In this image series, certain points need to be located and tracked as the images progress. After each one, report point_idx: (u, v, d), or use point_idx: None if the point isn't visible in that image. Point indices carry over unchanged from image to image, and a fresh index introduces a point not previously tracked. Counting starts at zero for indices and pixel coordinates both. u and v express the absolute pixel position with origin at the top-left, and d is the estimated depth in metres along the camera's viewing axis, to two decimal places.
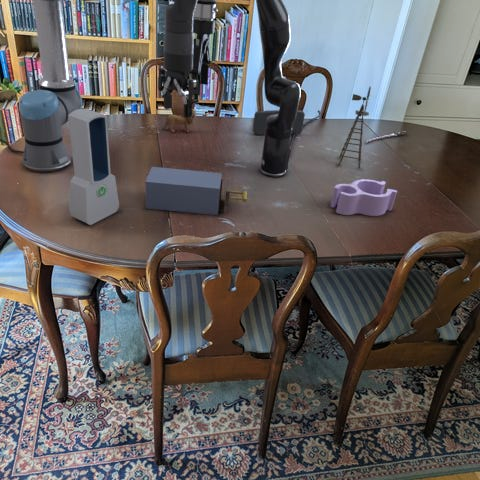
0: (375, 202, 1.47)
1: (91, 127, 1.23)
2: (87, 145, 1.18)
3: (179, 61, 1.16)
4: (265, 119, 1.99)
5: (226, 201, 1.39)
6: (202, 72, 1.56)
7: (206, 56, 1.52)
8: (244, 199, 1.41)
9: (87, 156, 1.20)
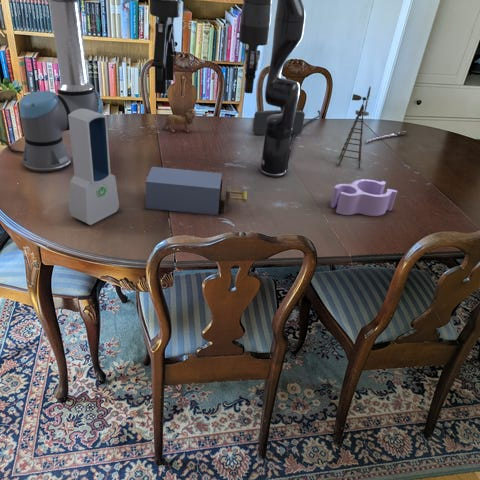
0: (375, 202, 1.47)
1: (91, 127, 1.23)
2: (87, 145, 1.18)
3: (245, 32, 1.15)
4: (265, 119, 1.99)
5: (226, 201, 1.39)
6: (166, 65, 1.29)
7: (171, 45, 1.25)
8: (244, 199, 1.41)
9: (87, 156, 1.20)
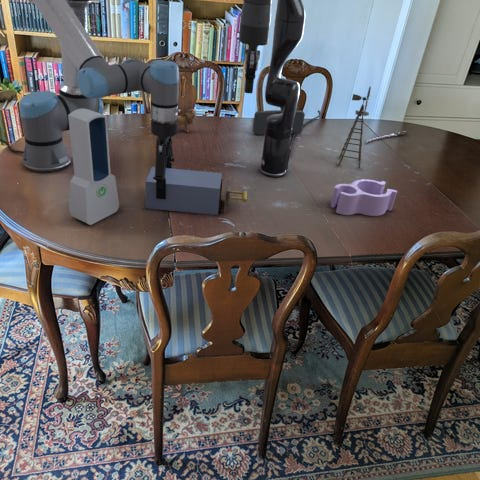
0: (375, 202, 1.47)
1: (91, 127, 1.23)
2: (87, 145, 1.18)
3: (245, 32, 1.15)
4: (265, 119, 1.99)
5: (226, 201, 1.39)
6: None
7: (169, 154, 1.41)
8: (244, 199, 1.41)
9: (87, 156, 1.20)
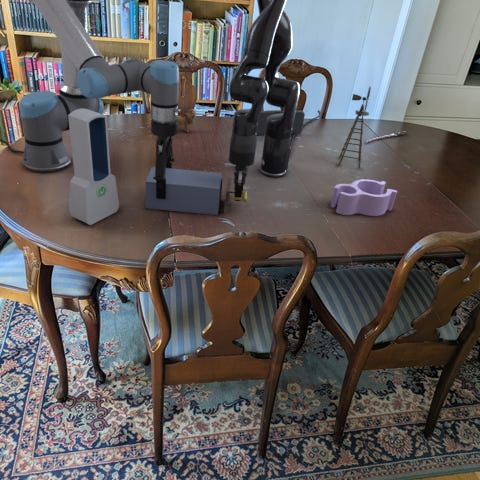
0: (375, 202, 1.47)
1: (91, 127, 1.23)
2: (87, 145, 1.18)
3: (234, 156, 1.33)
4: (265, 119, 1.99)
5: (226, 201, 1.39)
6: None
7: (169, 154, 1.41)
8: (244, 199, 1.41)
9: (87, 156, 1.20)
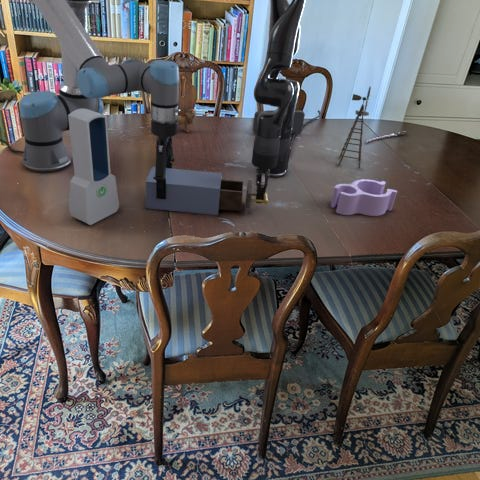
0: (375, 202, 1.47)
1: (91, 127, 1.23)
2: (87, 145, 1.18)
3: (257, 159, 1.33)
4: None
5: (247, 203, 1.39)
6: None
7: (169, 154, 1.41)
8: (265, 201, 1.41)
9: (87, 156, 1.20)
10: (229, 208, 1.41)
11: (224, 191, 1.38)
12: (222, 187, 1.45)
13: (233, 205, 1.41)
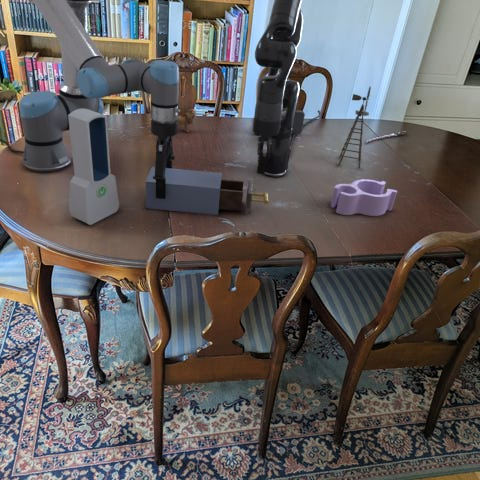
0: (375, 202, 1.47)
1: (91, 127, 1.23)
2: (87, 145, 1.18)
3: (259, 125, 1.28)
4: None
5: (248, 203, 1.39)
6: (165, 168, 1.46)
7: (169, 153, 1.41)
8: (266, 201, 1.41)
9: (87, 156, 1.20)
10: (230, 208, 1.41)
11: (225, 191, 1.38)
12: (222, 187, 1.45)
13: (234, 205, 1.41)
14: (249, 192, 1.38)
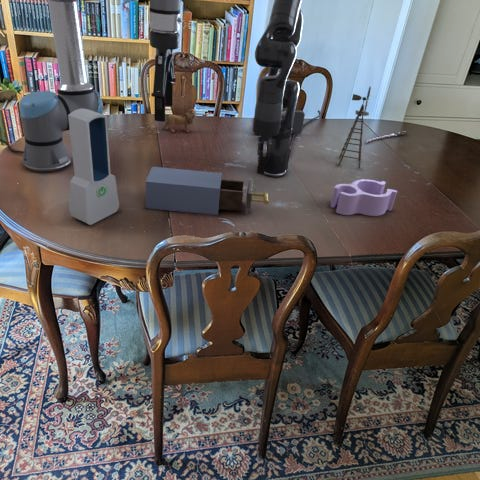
0: (375, 202, 1.47)
1: (91, 127, 1.23)
2: (87, 145, 1.18)
3: (259, 125, 1.28)
4: None
5: (248, 203, 1.39)
6: (165, 92, 1.33)
7: (170, 73, 1.29)
8: (266, 201, 1.41)
9: (87, 156, 1.20)
10: (230, 208, 1.41)
11: (225, 191, 1.38)
12: (222, 187, 1.45)
13: (234, 205, 1.41)
14: (249, 192, 1.38)
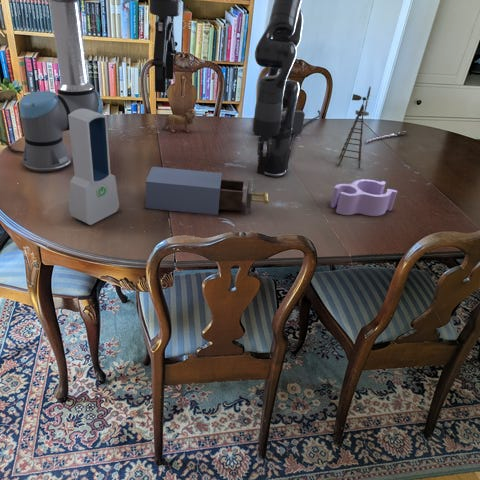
0: (375, 202, 1.47)
1: (91, 127, 1.23)
2: (87, 145, 1.18)
3: (259, 125, 1.28)
4: None
5: (248, 203, 1.39)
6: (166, 64, 1.29)
7: (171, 44, 1.25)
8: (266, 201, 1.41)
9: (87, 156, 1.20)
10: (230, 208, 1.41)
11: (225, 191, 1.38)
12: (222, 187, 1.45)
13: (234, 205, 1.41)
14: (249, 192, 1.38)
